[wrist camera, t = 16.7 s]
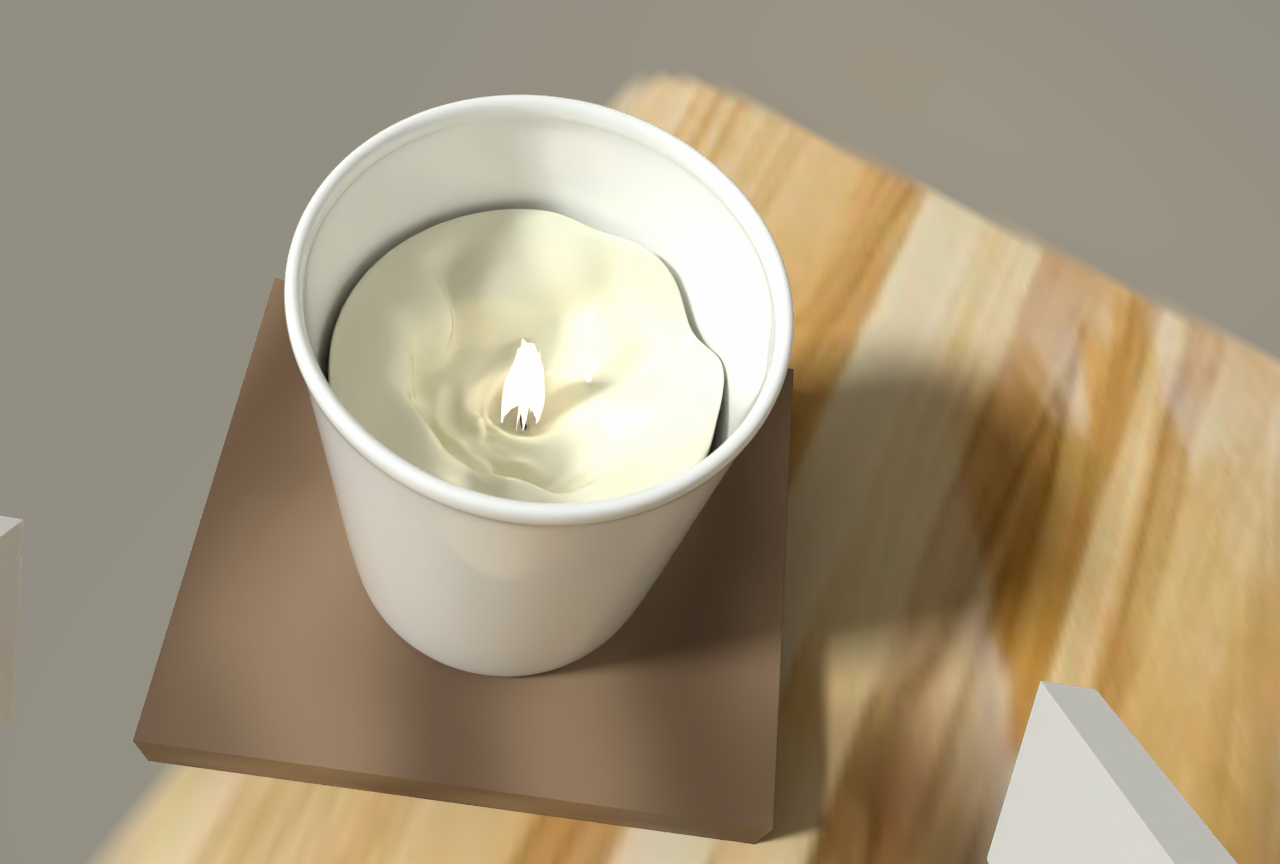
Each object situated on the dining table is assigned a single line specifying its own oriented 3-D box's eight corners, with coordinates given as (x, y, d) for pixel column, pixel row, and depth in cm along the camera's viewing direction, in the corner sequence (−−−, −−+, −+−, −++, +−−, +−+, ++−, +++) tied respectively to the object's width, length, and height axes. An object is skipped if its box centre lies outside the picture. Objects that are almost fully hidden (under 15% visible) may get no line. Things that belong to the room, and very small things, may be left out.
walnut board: (776, 401, 40) (793, 369, 38) (754, 843, 33) (772, 829, 31) (281, 315, 38) (275, 278, 37) (148, 760, 31) (133, 740, 30)
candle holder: (587, 340, 37) (654, 47, 27) (742, 620, 34) (888, 406, 23) (272, 449, 34) (210, 161, 24) (407, 772, 30) (404, 602, 20)
